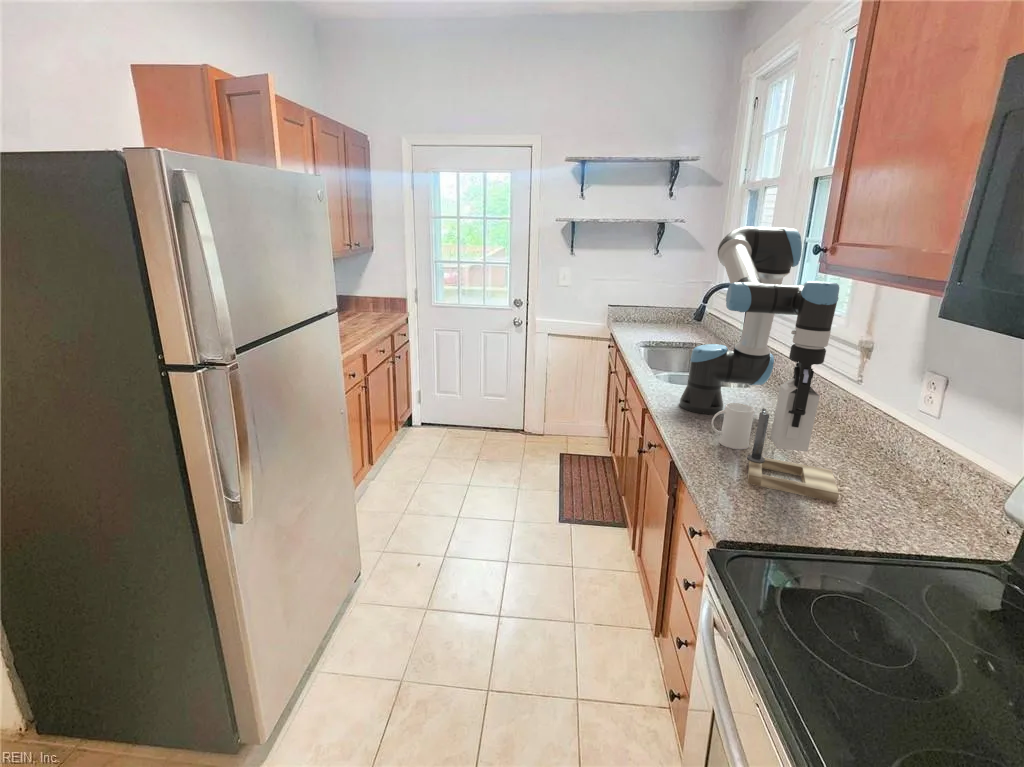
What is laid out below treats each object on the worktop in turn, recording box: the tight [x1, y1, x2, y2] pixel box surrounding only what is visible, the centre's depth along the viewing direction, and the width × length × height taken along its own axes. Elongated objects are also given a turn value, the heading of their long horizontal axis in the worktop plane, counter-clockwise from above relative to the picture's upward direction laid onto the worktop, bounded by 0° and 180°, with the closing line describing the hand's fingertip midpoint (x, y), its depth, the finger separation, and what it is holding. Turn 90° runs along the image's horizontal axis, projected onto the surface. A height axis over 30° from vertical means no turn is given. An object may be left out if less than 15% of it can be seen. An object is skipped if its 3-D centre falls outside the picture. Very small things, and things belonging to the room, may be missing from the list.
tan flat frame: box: [747, 456, 840, 503], centre depth 134 cm, size 14×20×2 cm
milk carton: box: [769, 377, 821, 452], centre depth 129 cm, size 7×7×19 cm
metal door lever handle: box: [746, 407, 770, 463], centre depth 140 cm, size 7×4×16 cm, turn 155°
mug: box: [711, 402, 756, 450], centre depth 156 cm, size 12×8×12 cm
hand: (791, 431), depth 131 cm, fingers closed on milk carton, 8 cm apart
